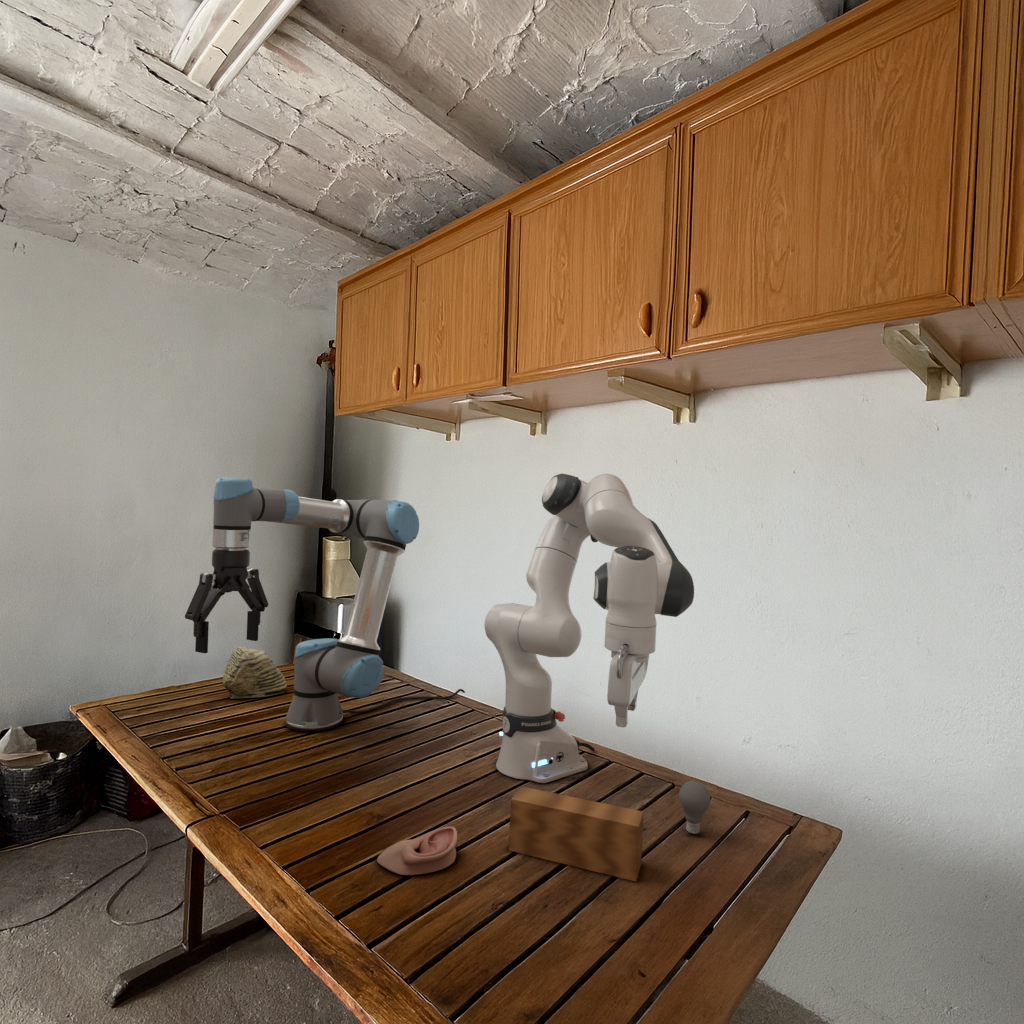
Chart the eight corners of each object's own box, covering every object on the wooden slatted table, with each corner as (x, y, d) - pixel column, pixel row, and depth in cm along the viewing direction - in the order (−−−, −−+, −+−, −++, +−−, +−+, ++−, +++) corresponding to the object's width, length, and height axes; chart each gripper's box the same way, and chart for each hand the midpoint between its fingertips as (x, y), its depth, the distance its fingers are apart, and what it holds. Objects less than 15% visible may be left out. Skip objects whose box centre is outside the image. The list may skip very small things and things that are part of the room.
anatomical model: (370, 846, 108) (395, 814, 119) (369, 869, 108) (395, 835, 119) (444, 859, 105) (463, 825, 117) (443, 882, 106) (462, 846, 117)
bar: (508, 850, 116) (510, 799, 116) (518, 835, 122) (521, 786, 122) (636, 881, 108) (638, 826, 108) (641, 864, 114) (643, 811, 114)
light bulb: (673, 824, 128) (675, 775, 128) (701, 824, 129) (704, 775, 129) (683, 840, 122) (685, 789, 122) (713, 840, 123) (716, 789, 123)
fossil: (218, 695, 195) (220, 647, 195) (278, 685, 208) (279, 640, 207) (228, 703, 189) (230, 653, 188) (289, 692, 201) (290, 645, 201)
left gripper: (194, 553, 125) (190, 660, 125) (286, 547, 148) (283, 637, 148) (167, 550, 128) (164, 655, 128) (262, 544, 151) (258, 633, 151)
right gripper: (639, 654, 101) (635, 740, 101) (655, 631, 120) (651, 703, 120) (600, 649, 103) (596, 733, 103) (622, 627, 122) (618, 698, 122)
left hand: (227, 646), depth 138 cm, fingers open, 13 cm apart
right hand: (626, 717), depth 112 cm, fingers open, 8 cm apart
